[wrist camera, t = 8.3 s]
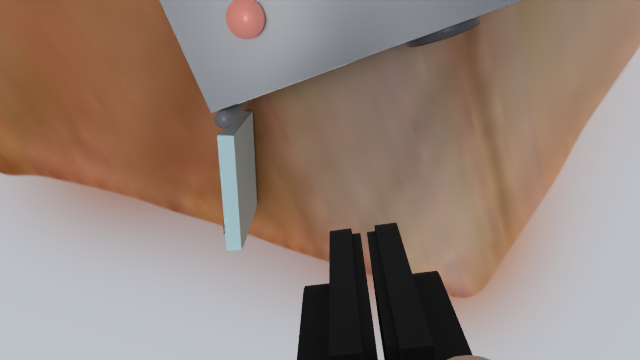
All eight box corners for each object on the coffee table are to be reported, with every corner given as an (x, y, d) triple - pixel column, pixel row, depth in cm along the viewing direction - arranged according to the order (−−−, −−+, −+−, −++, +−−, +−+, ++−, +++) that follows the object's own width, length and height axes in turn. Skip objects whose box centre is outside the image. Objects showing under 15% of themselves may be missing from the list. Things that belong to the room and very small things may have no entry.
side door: (257, 206, 33) (241, 250, 27) (236, 206, 33) (216, 250, 27) (252, 111, 30) (233, 135, 24) (230, 111, 30) (205, 135, 24)
